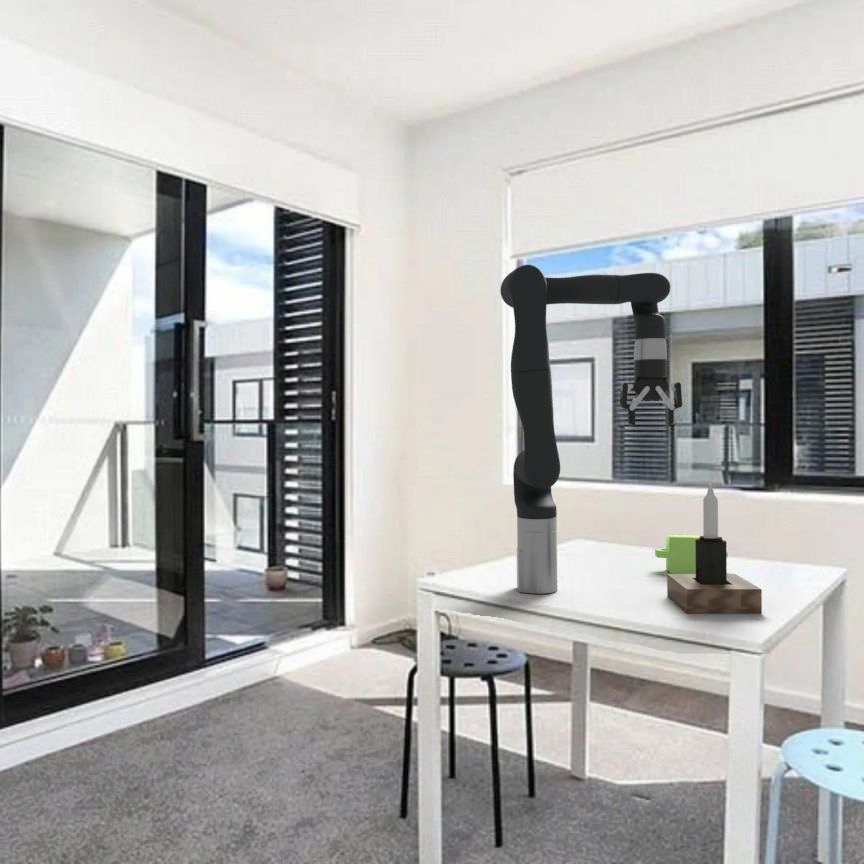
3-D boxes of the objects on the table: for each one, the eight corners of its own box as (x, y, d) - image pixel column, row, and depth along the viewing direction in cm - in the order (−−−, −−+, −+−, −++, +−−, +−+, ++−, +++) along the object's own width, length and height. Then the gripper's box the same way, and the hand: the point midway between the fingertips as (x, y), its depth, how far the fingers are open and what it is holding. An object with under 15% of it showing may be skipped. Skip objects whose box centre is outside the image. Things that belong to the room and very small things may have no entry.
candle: (693, 598, 160) (692, 482, 160) (712, 595, 162) (711, 481, 162) (709, 603, 156) (709, 484, 155) (729, 601, 157) (728, 483, 157)
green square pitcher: (723, 570, 196) (723, 534, 196) (733, 577, 186) (733, 539, 186) (653, 568, 199) (653, 532, 199) (659, 574, 189) (659, 537, 189)
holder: (686, 613, 152) (686, 589, 152) (667, 596, 167) (667, 573, 167) (761, 613, 151) (761, 589, 151) (735, 596, 166) (735, 573, 166)
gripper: (623, 357, 174) (624, 426, 175) (685, 356, 174) (685, 426, 174) (617, 360, 182) (617, 426, 182) (676, 359, 181) (676, 425, 182)
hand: (650, 426), depth 178 cm, fingers open, 8 cm apart
